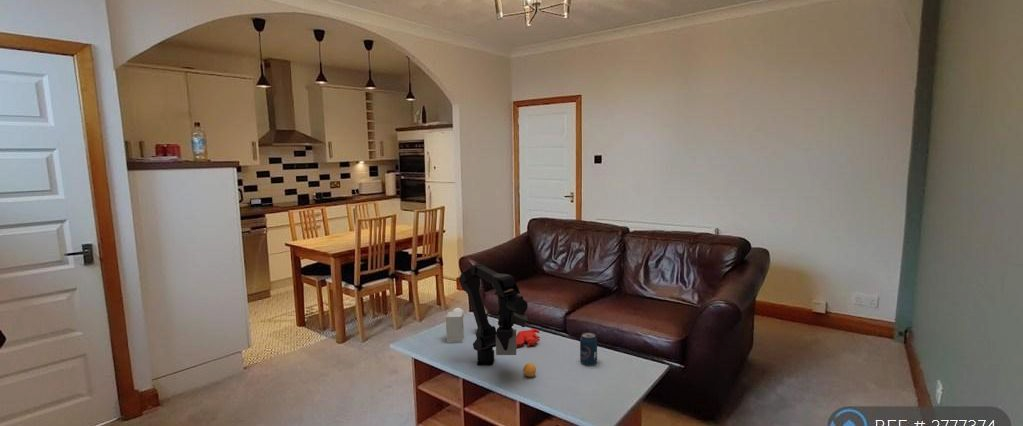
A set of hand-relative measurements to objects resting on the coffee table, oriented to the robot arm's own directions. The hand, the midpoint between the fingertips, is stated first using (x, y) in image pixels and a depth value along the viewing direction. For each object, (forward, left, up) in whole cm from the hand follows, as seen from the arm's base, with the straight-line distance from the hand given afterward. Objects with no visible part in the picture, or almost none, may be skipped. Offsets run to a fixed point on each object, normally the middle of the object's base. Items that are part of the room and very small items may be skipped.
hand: (506, 345), depth 189 cm
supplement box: (-27, +34, -12) cm, 45 cm away
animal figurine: (+6, +30, -12) cm, 33 cm away
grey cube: (0, 0, -2) cm, 2 cm away
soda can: (+33, +11, -12) cm, 37 cm away
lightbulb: (-28, +47, -12) cm, 56 cm away
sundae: (-15, +43, -12) cm, 47 cm away
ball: (+9, -1, -9) cm, 13 cm away
